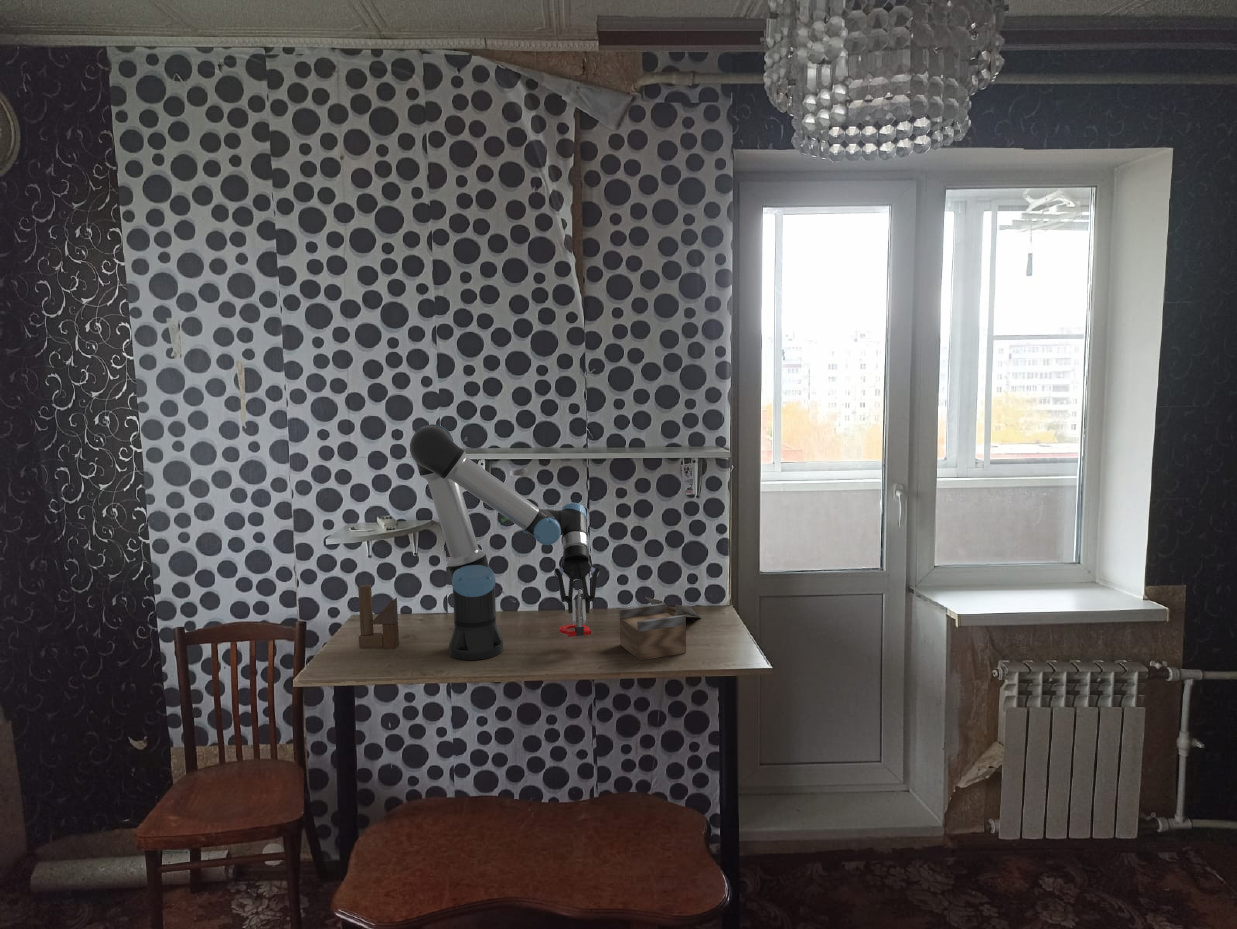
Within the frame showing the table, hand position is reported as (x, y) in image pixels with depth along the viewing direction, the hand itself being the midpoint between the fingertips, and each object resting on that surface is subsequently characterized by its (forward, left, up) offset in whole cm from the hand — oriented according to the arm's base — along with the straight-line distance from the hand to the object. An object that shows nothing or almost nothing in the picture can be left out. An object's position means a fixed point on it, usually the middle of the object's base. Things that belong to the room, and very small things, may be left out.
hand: (579, 622), depth 217 cm
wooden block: (-51, +31, -9) cm, 60 cm away
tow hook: (0, +4, -4) cm, 6 cm away
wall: (+36, +16, -10) cm, 41 cm away
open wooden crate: (+20, -4, -9) cm, 22 cm away
